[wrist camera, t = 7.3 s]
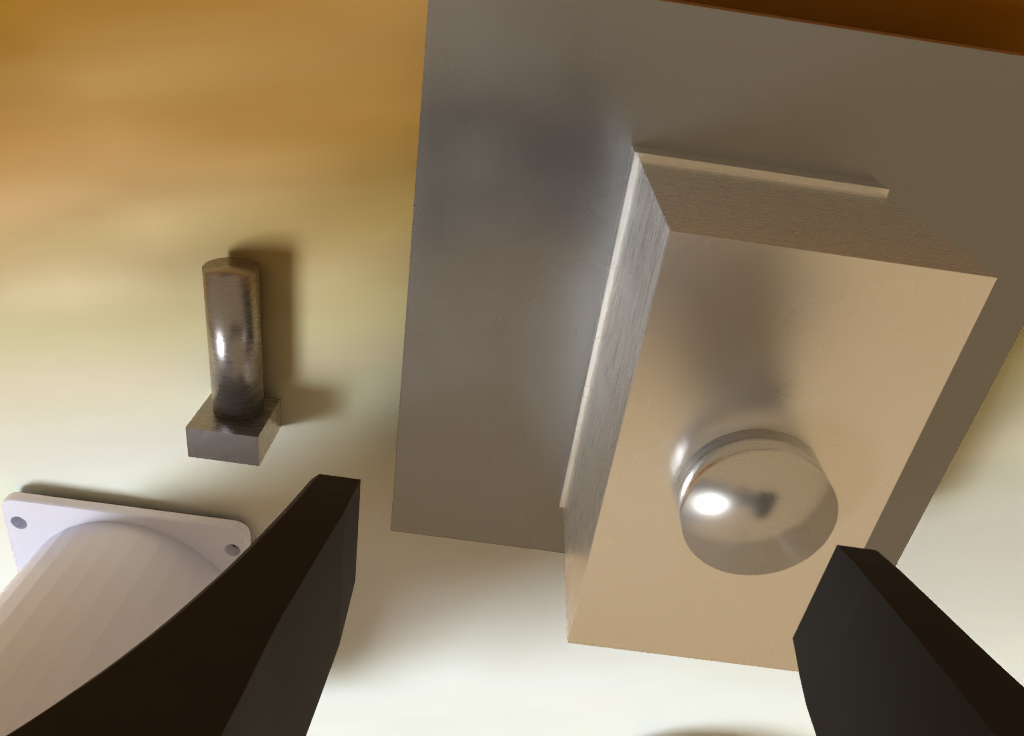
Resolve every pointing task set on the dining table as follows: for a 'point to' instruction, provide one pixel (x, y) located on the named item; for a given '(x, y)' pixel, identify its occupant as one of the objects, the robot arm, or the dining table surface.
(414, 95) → the dining table surface
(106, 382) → the dining table surface
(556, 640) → the dining table surface
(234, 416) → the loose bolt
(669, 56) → the stand
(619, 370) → the block
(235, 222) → the dining table surface
